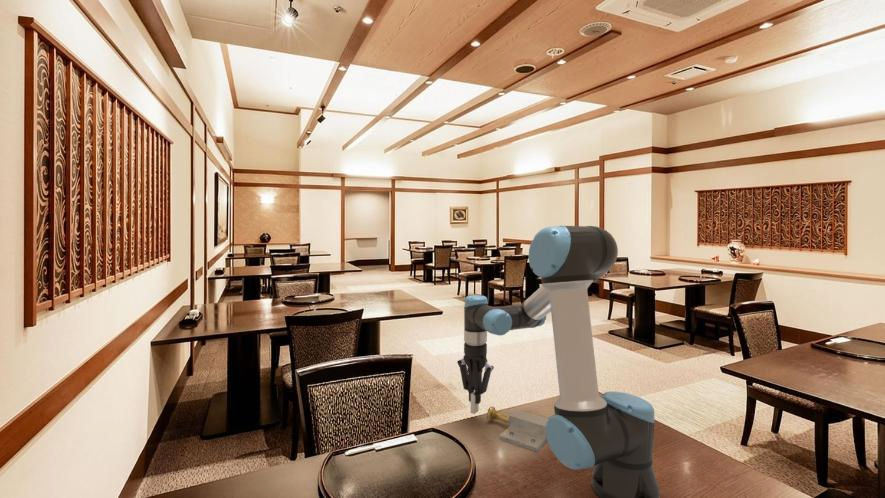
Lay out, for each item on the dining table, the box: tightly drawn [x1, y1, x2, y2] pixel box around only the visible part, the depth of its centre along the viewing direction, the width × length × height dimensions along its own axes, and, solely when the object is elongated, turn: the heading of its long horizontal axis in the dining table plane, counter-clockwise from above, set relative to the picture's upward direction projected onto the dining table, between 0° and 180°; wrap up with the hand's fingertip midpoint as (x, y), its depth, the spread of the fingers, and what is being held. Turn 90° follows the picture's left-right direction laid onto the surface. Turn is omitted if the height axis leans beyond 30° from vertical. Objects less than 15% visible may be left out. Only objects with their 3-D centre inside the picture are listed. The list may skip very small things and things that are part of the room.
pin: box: [486, 406, 510, 424], centre depth 134 cm, size 13×4×4 cm, turn 54°
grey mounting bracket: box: [498, 409, 549, 453], centre depth 130 cm, size 12×17×5 cm
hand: (474, 411), depth 142 cm, fingers closed
